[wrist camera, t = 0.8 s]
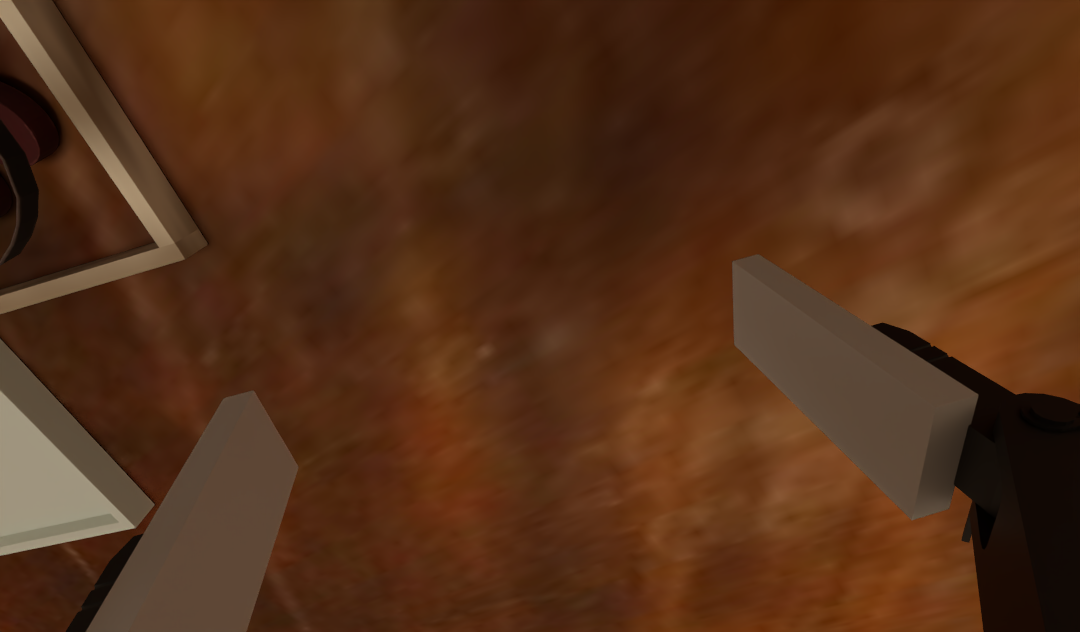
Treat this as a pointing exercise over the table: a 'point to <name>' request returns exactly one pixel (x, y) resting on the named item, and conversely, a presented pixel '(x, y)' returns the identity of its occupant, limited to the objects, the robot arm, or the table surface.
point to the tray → (54, 470)
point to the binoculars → (22, 159)
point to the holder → (114, 144)
